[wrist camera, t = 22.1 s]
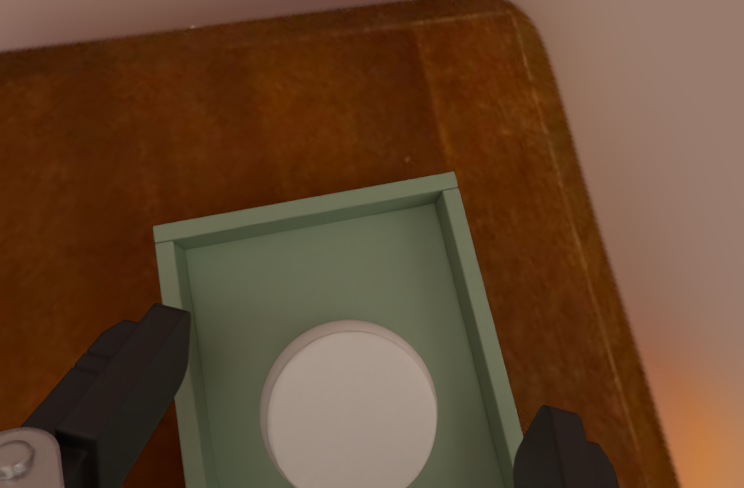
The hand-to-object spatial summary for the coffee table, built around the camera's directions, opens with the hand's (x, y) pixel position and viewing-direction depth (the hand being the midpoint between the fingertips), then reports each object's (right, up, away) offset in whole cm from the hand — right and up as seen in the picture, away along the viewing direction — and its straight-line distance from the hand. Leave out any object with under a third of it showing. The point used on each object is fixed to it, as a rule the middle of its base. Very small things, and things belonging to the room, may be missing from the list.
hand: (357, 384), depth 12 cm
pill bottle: (-1, -2, +6) cm, 7 cm away
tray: (-1, -2, +7) cm, 7 cm away
